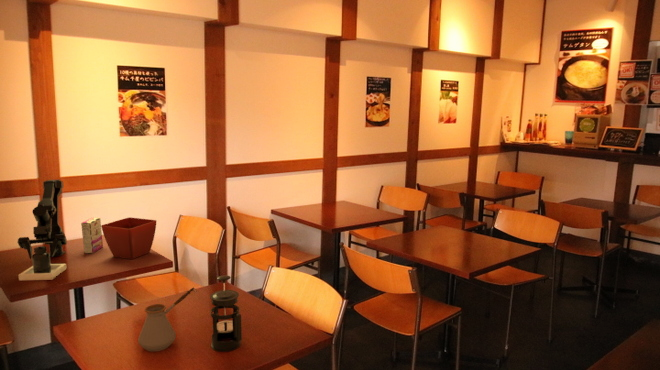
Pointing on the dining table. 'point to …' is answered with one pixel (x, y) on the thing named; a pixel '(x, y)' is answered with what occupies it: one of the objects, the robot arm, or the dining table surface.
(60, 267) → the tray
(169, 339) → the coffee pot
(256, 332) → the dining table surface
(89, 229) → the candy bar box
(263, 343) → the dining table surface
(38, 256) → the supplement bottle
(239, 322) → the french press
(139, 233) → the plant pot
